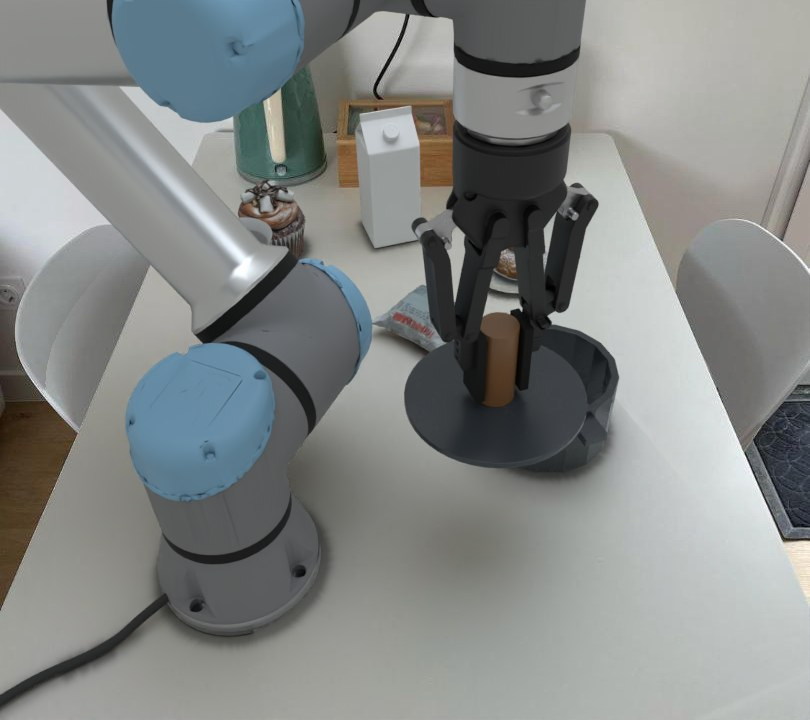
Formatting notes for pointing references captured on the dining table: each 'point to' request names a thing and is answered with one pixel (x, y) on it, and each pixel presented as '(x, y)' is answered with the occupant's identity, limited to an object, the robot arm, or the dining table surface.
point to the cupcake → (275, 214)
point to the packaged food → (412, 320)
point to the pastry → (508, 272)
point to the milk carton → (388, 175)
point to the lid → (496, 403)
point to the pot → (600, 390)
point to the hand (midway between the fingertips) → (495, 385)
